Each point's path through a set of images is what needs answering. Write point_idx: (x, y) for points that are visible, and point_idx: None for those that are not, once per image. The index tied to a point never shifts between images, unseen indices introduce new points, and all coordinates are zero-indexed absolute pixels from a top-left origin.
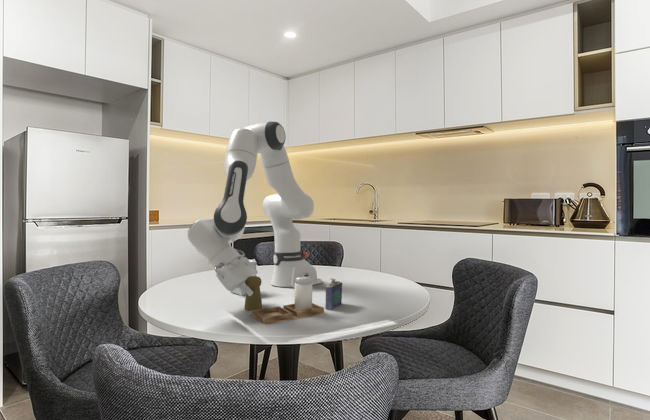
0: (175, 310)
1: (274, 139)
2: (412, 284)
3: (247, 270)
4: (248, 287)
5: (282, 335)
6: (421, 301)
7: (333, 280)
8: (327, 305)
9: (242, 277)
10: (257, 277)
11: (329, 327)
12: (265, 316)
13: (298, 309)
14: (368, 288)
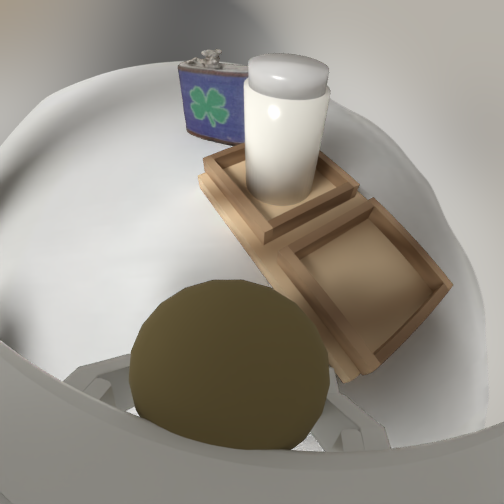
0: None
1: None
2: (80, 81)
3: (25, 444)
4: (343, 404)
5: (453, 243)
6: (178, 62)
7: (218, 52)
8: None
9: (386, 483)
10: (247, 305)
11: (365, 149)
12: (370, 305)
13: (310, 183)
14: (64, 113)
